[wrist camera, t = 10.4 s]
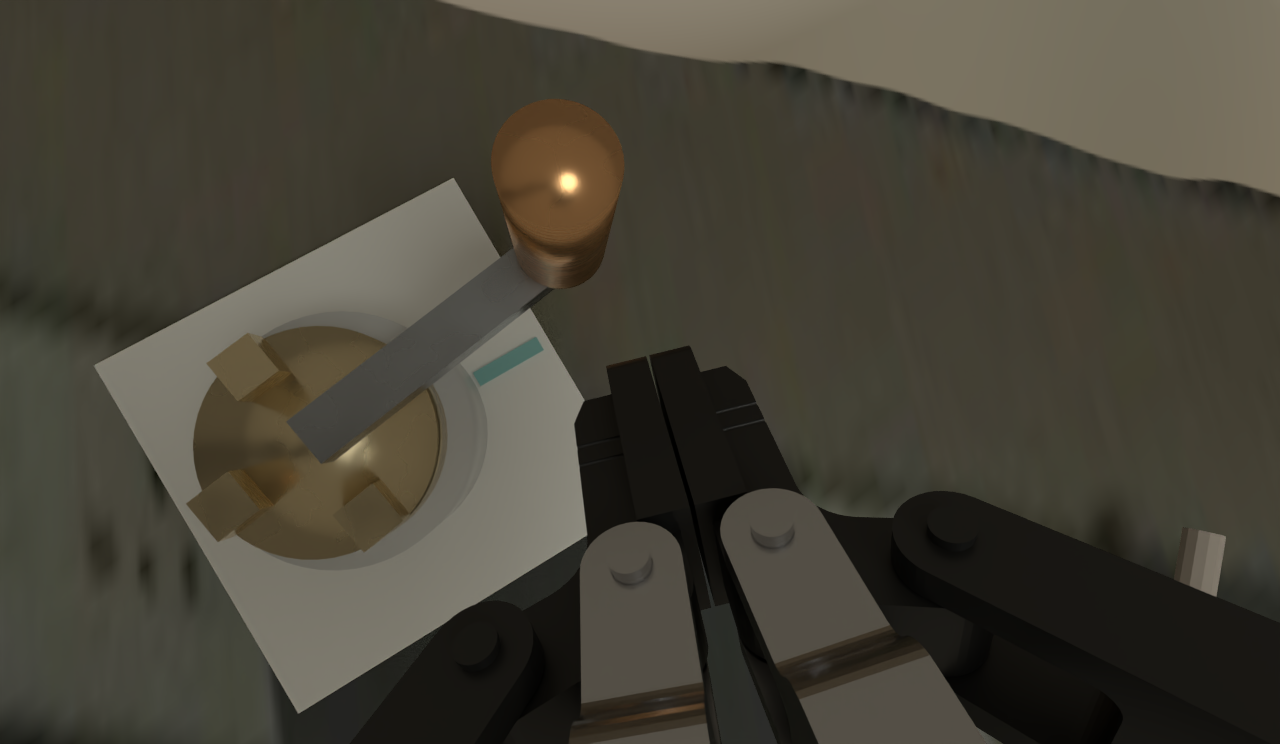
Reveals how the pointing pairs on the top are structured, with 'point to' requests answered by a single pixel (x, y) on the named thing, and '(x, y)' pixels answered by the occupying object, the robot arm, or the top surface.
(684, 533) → the robot arm
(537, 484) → the cylinder on square plate
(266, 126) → the top surface
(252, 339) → the lever-handled chuck
